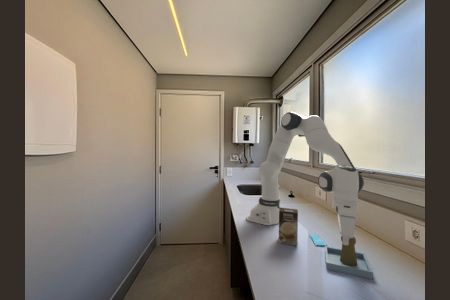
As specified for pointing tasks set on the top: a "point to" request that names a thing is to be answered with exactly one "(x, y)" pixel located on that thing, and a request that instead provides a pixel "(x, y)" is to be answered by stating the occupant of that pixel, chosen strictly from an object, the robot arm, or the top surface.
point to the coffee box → (288, 226)
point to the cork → (348, 253)
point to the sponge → (317, 240)
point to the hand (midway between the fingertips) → (344, 239)
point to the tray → (335, 264)
